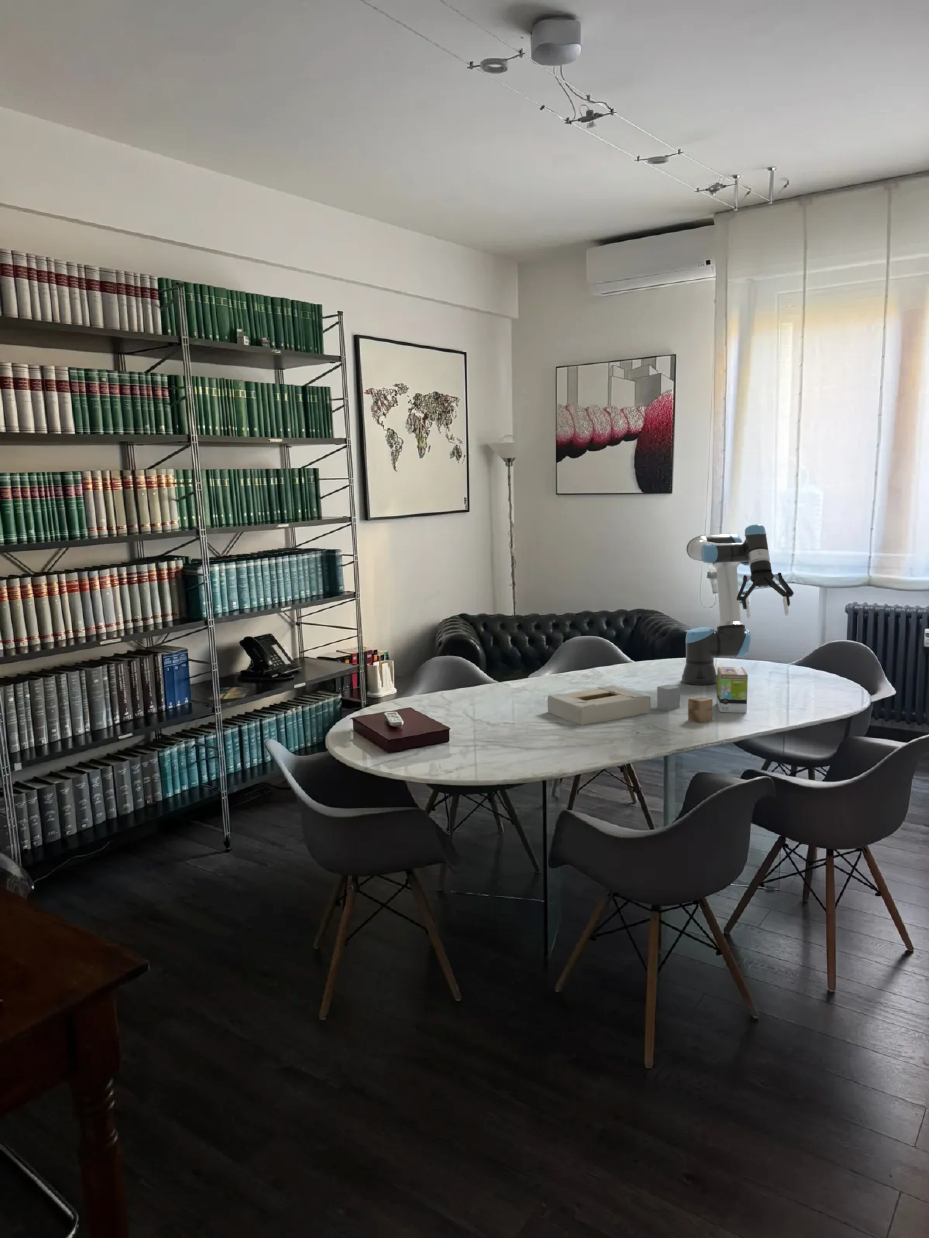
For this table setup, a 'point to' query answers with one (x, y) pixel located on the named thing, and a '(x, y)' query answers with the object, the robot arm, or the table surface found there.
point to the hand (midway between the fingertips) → (767, 615)
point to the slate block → (668, 697)
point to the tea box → (732, 689)
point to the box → (598, 704)
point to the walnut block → (700, 709)
